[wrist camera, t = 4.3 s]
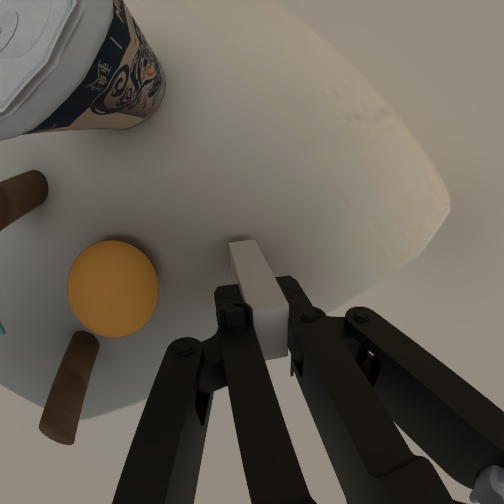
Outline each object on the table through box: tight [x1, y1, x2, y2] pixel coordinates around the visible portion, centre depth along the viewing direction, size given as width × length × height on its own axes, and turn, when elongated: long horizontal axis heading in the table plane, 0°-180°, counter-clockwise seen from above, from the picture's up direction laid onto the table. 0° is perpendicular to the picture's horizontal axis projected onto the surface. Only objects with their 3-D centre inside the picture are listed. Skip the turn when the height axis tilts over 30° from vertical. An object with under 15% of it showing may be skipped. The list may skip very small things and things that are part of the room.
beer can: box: [0, 0, 165, 140], centre depth 8 cm, size 5×5×12 cm
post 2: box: [39, 331, 99, 445], centre depth 15 cm, size 2×2×9 cm
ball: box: [67, 240, 159, 337], centre depth 15 cm, size 6×6×6 cm
